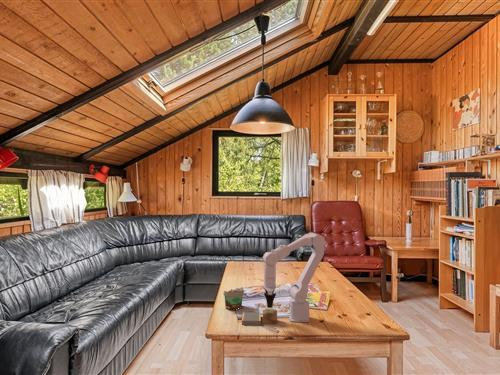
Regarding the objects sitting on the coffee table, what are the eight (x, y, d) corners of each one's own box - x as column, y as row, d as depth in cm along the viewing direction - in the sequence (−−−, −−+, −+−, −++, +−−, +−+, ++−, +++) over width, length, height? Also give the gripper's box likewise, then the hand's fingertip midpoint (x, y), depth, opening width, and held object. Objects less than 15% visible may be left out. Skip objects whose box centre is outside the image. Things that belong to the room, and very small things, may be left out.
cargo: (273, 310, 161) (273, 306, 161) (273, 313, 158) (273, 309, 158) (265, 310, 162) (265, 306, 162) (265, 313, 158) (265, 309, 158)
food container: (229, 313, 170) (229, 294, 170) (223, 309, 175) (223, 290, 175) (248, 307, 178) (248, 289, 178) (242, 304, 183) (242, 286, 183)
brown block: (276, 320, 162) (276, 310, 162) (277, 324, 157) (277, 314, 157) (262, 319, 163) (262, 309, 162) (262, 324, 158) (262, 313, 157)
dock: (260, 316, 166) (260, 312, 166) (260, 325, 156) (260, 320, 156) (243, 316, 166) (243, 312, 166) (241, 324, 156) (241, 320, 156)
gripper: (261, 272, 167) (261, 299, 167) (261, 281, 152) (261, 310, 153) (275, 272, 167) (275, 299, 167) (276, 281, 152) (276, 310, 152)
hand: (269, 304), depth 160 cm, fingers open, 7 cm apart
